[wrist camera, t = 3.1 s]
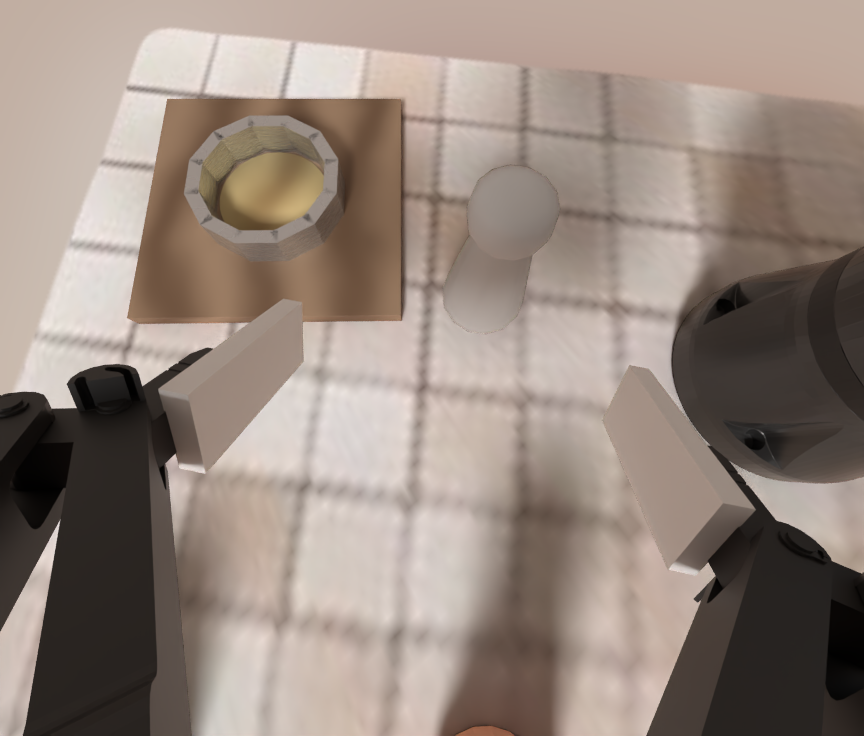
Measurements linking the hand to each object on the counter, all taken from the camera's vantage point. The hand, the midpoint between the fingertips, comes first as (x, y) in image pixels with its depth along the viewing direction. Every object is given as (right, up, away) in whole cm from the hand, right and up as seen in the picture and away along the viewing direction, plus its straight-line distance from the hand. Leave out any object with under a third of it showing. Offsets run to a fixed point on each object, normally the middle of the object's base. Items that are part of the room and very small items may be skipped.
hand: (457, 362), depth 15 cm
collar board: (-14, +13, +16) cm, 25 cm away
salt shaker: (+3, +4, +14) cm, 15 cm away
